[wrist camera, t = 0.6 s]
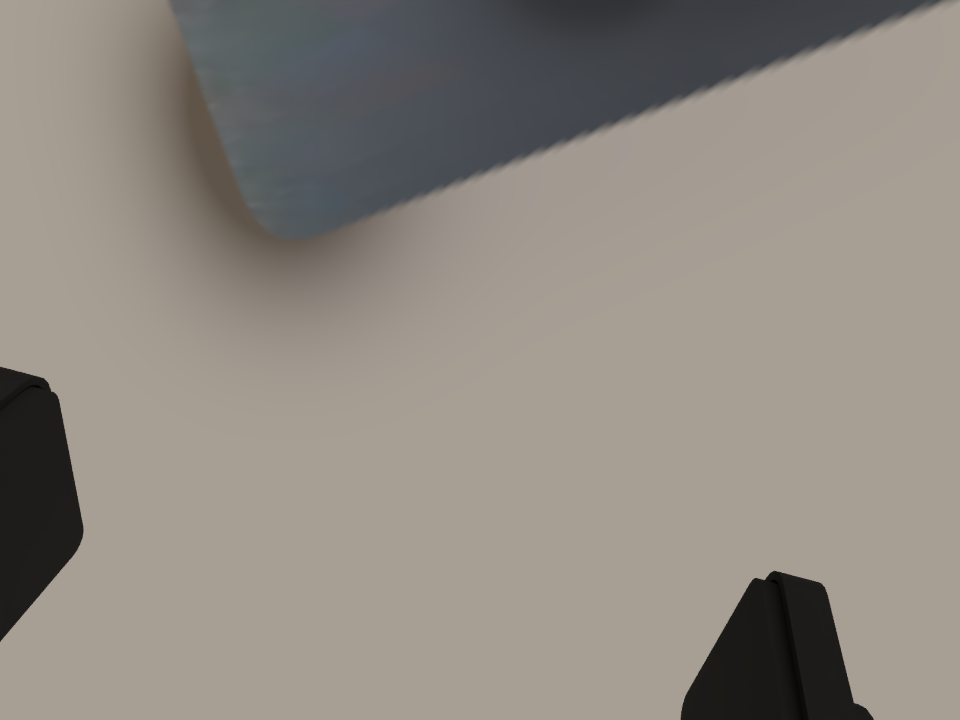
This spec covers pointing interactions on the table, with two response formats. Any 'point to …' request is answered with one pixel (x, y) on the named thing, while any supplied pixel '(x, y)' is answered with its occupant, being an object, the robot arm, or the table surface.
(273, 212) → the table surface
